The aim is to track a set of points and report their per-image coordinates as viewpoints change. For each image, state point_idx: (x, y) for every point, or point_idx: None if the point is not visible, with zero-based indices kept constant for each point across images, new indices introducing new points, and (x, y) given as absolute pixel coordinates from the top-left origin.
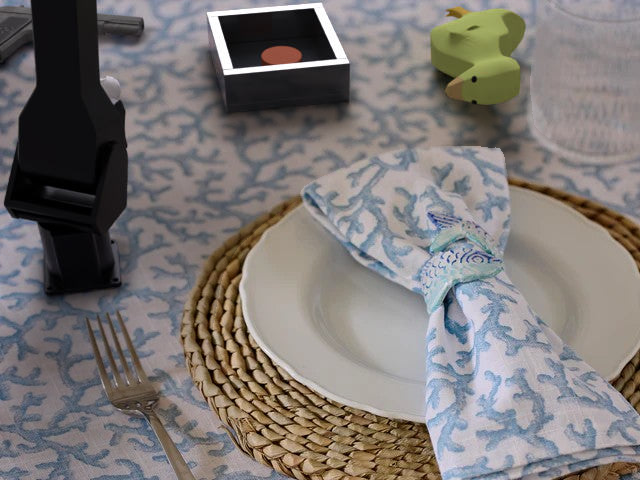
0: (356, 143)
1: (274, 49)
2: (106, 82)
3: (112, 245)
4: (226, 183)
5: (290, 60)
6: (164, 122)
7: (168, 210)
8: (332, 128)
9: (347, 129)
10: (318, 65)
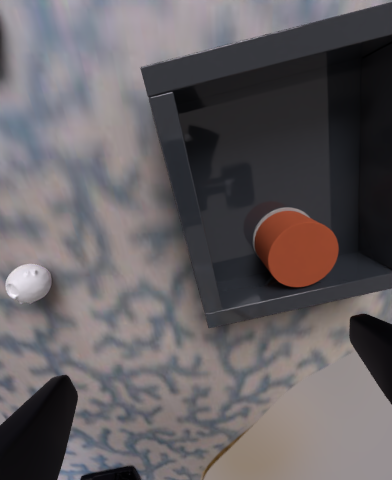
0: (348, 337)
1: (293, 236)
2: (23, 299)
3: (131, 475)
4: (212, 399)
5: (316, 272)
6: (128, 313)
7: (165, 431)
8: (328, 313)
9: (344, 314)
10: (360, 293)
